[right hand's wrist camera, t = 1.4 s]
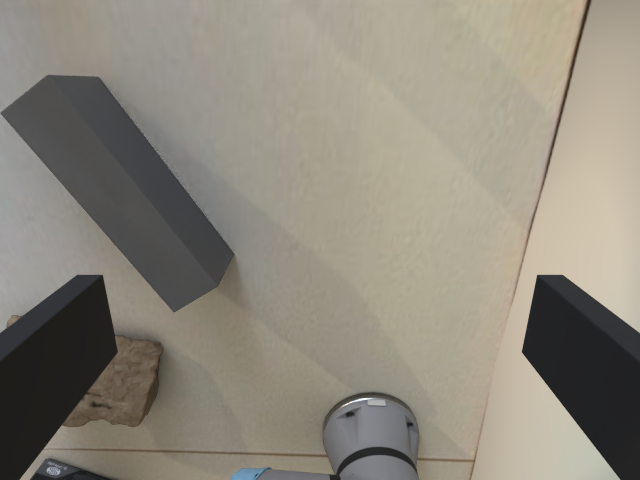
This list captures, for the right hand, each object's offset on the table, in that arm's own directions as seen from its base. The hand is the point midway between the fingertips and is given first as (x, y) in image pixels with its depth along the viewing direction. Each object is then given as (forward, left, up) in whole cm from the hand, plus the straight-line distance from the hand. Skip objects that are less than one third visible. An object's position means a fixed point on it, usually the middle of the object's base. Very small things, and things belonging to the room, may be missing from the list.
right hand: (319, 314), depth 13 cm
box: (-10, +20, -40) cm, 46 cm away
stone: (-39, +26, -40) cm, 62 cm away
